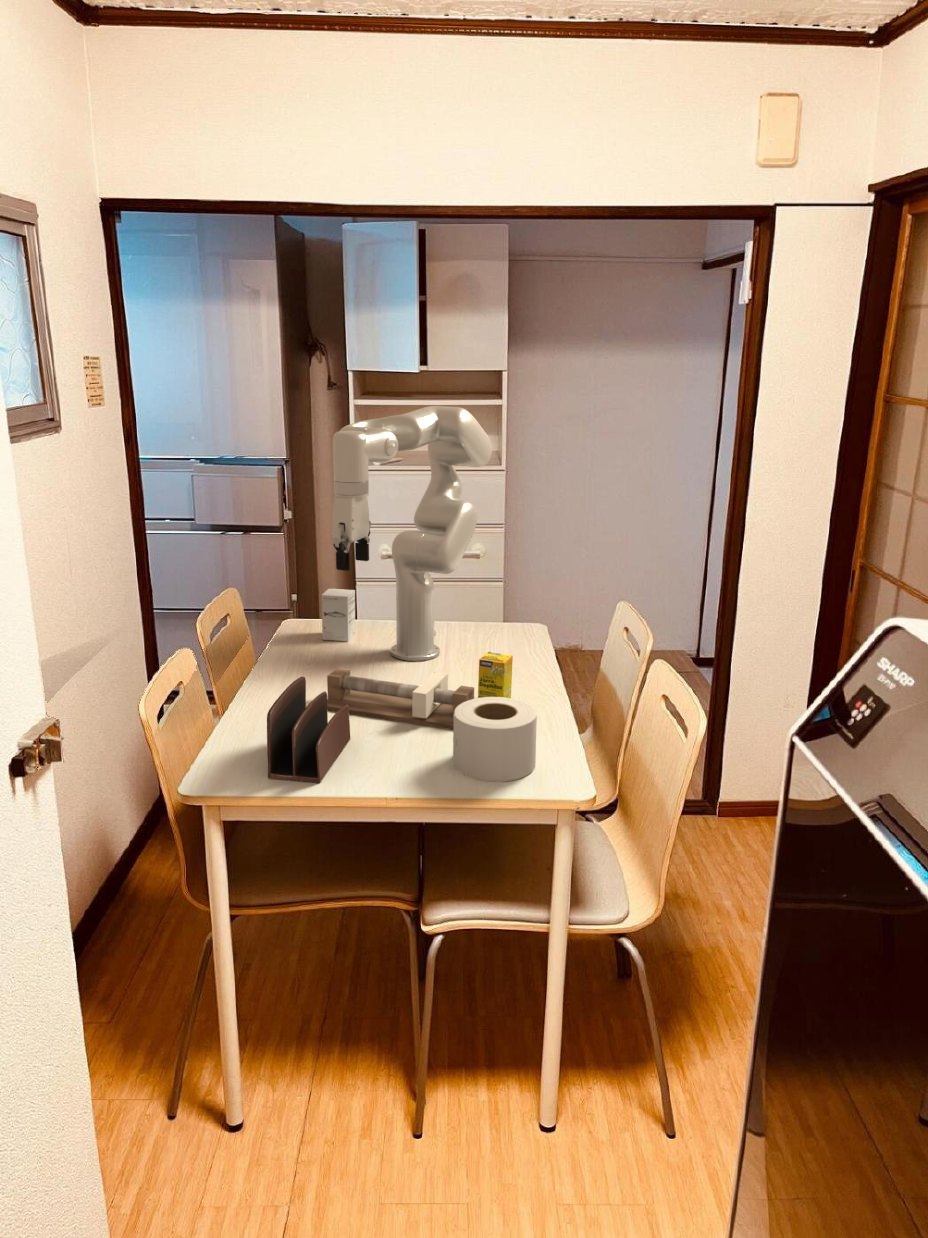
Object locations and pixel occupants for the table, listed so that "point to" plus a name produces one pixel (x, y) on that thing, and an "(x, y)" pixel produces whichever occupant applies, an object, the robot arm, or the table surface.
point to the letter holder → (304, 735)
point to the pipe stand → (391, 699)
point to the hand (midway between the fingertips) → (353, 565)
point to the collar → (428, 695)
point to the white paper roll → (494, 739)
